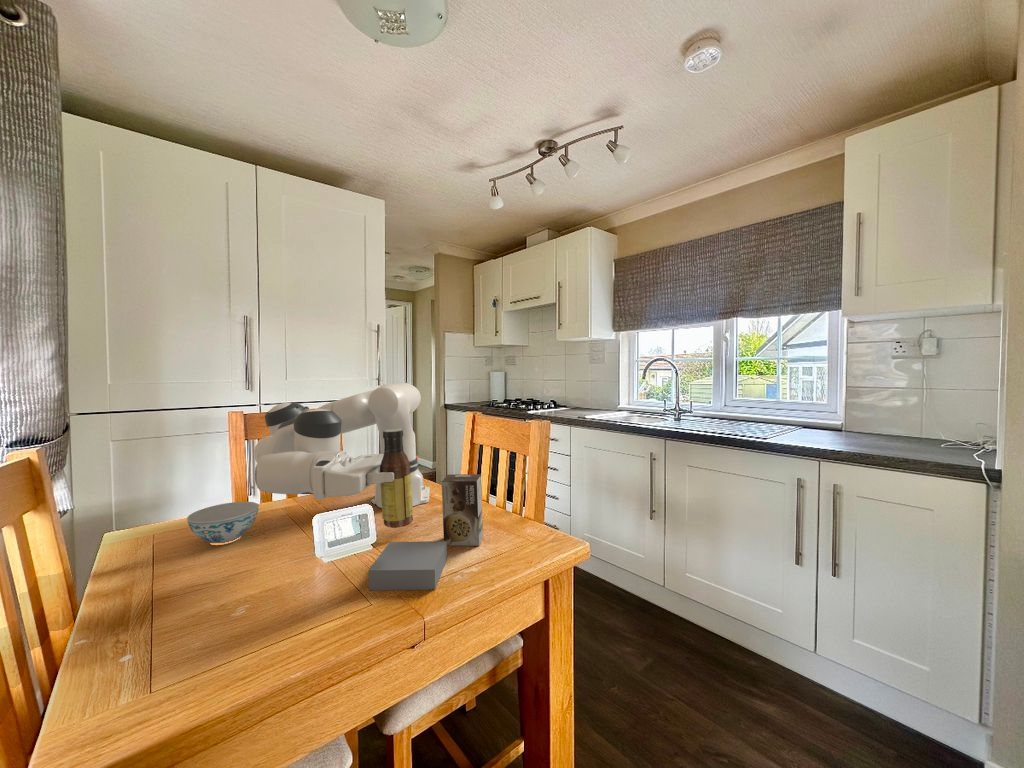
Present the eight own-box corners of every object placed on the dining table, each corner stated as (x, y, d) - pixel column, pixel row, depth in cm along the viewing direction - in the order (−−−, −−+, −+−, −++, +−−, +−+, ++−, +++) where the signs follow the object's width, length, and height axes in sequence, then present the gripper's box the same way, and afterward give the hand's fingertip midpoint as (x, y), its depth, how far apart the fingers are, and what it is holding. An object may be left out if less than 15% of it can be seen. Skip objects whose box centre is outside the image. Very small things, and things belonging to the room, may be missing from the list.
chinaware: (216, 557, 94) (215, 524, 94) (173, 549, 99) (172, 518, 99) (273, 532, 109) (272, 504, 108) (233, 526, 113) (231, 499, 113)
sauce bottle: (404, 516, 89) (401, 426, 88) (419, 523, 84) (416, 428, 84) (375, 524, 84) (373, 429, 84) (389, 532, 80) (387, 432, 79)
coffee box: (483, 535, 104) (482, 473, 103) (479, 546, 97) (477, 480, 97) (449, 535, 105) (447, 473, 104) (442, 545, 98) (440, 480, 98)
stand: (390, 559, 92) (389, 541, 92) (447, 558, 91) (446, 541, 91) (369, 590, 79) (368, 570, 79) (435, 589, 78) (434, 569, 78)
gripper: (355, 474, 95) (414, 473, 94) (309, 503, 74) (384, 502, 74) (354, 447, 94) (413, 446, 94) (308, 469, 74) (383, 468, 74)
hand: (400, 471), depth 84 cm, fingers closed on sauce bottle, 6 cm apart
